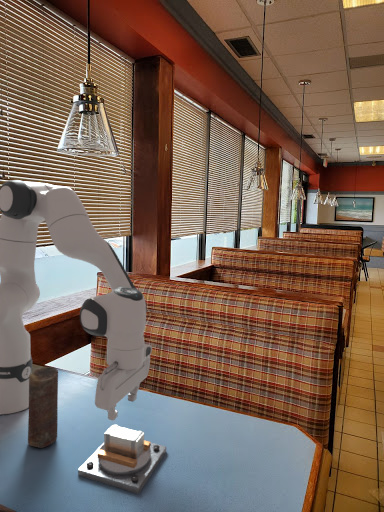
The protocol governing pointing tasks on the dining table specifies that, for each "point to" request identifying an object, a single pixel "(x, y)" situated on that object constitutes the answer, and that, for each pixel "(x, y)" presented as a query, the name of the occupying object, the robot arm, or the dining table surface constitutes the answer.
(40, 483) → the dining table surface
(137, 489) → the turntable fixture plate
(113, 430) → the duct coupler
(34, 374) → the candle
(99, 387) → the robot arm
